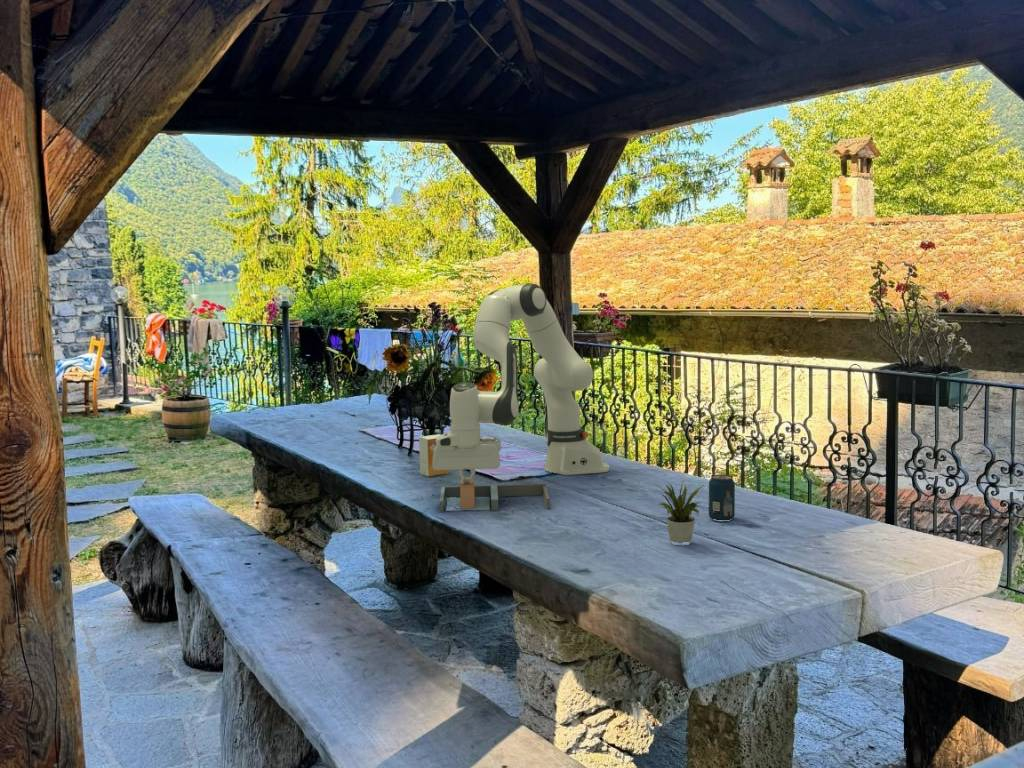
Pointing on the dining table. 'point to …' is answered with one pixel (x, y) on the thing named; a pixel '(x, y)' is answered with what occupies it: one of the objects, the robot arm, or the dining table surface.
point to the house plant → (680, 515)
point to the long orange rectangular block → (467, 495)
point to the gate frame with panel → (494, 494)
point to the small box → (428, 455)
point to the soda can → (721, 497)
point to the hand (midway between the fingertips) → (467, 483)
